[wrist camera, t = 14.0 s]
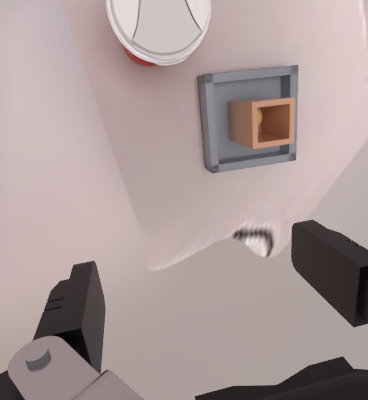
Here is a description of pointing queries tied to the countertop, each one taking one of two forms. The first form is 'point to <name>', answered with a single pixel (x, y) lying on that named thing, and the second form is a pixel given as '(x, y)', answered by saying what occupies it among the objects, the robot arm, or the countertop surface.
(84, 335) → the robot arm
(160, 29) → the coffee cup
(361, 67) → the countertop surface
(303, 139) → the countertop surface
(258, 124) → the mustard ball
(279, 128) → the light brown open box
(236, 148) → the tray
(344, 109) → the countertop surface
